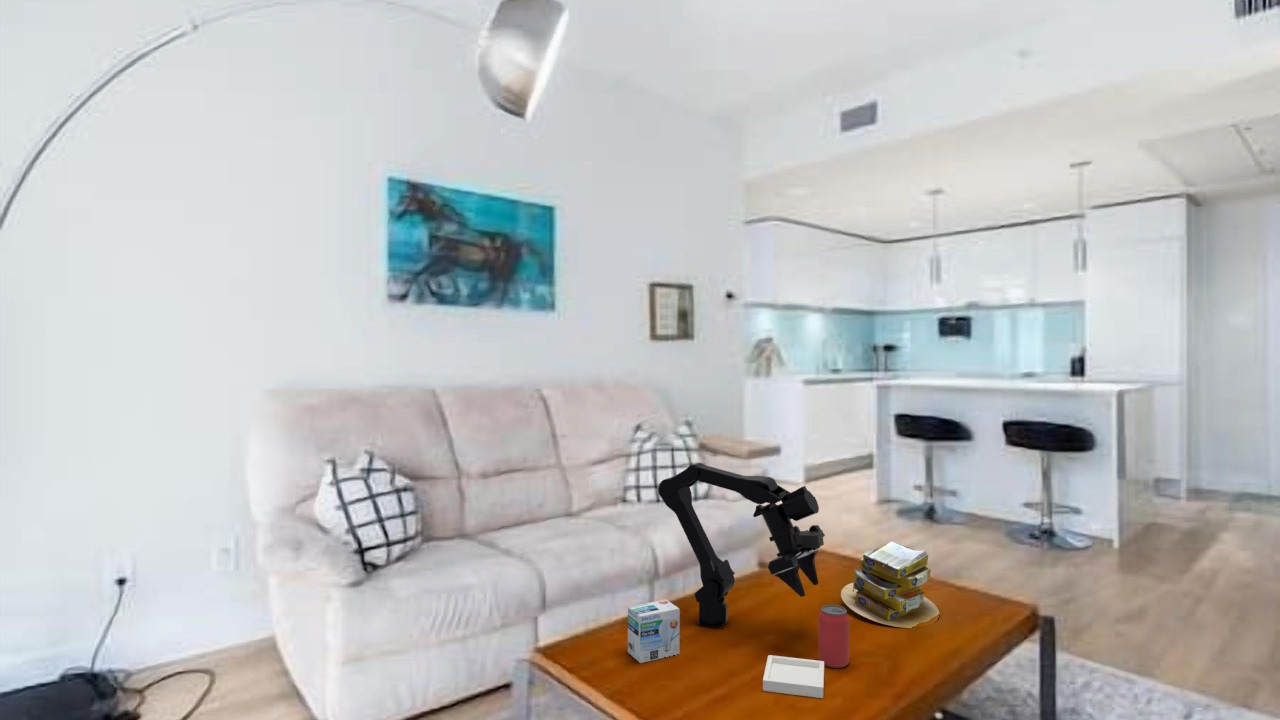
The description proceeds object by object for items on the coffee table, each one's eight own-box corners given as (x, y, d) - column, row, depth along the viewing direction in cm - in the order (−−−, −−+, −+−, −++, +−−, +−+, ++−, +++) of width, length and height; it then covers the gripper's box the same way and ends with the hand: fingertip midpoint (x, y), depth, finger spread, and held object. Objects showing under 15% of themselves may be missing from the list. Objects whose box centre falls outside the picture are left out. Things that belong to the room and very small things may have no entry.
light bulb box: (639, 664, 156) (639, 616, 156) (626, 652, 162) (626, 606, 162) (681, 654, 161) (681, 607, 161) (666, 643, 167) (666, 598, 167)
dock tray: (762, 690, 144) (762, 680, 144) (768, 664, 155) (768, 654, 155) (823, 698, 141) (823, 687, 140) (824, 671, 152) (824, 661, 152)
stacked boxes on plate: (960, 618, 181) (961, 554, 181) (887, 635, 171) (887, 567, 170) (890, 588, 203) (890, 531, 203) (822, 601, 193) (822, 541, 193)
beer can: (850, 670, 152) (850, 615, 152) (819, 667, 154) (819, 613, 154) (847, 657, 159) (847, 604, 159) (817, 654, 160) (817, 602, 160)
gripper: (795, 524, 157) (827, 592, 153) (822, 508, 172) (851, 569, 169) (754, 541, 162) (784, 606, 158) (784, 523, 178) (811, 582, 174)
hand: (809, 590), depth 165 cm, fingers open, 9 cm apart
